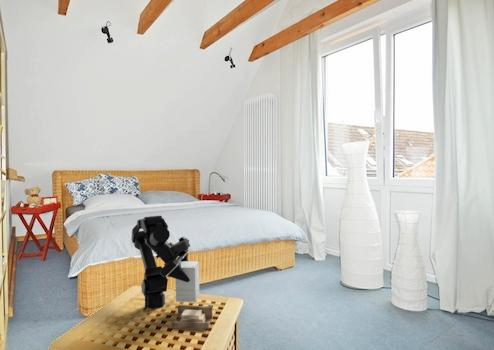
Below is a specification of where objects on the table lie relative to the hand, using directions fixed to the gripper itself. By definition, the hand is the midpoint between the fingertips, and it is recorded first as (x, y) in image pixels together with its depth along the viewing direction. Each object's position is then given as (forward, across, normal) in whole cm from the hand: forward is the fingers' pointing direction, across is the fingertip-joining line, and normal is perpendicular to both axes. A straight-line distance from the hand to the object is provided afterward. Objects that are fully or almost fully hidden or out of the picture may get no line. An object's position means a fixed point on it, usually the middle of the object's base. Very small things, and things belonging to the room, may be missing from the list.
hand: (191, 277), depth 121 cm
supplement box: (+5, 0, +7) cm, 8 cm away
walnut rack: (+11, -9, +8) cm, 16 cm away
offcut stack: (+10, -9, +7) cm, 16 cm away
